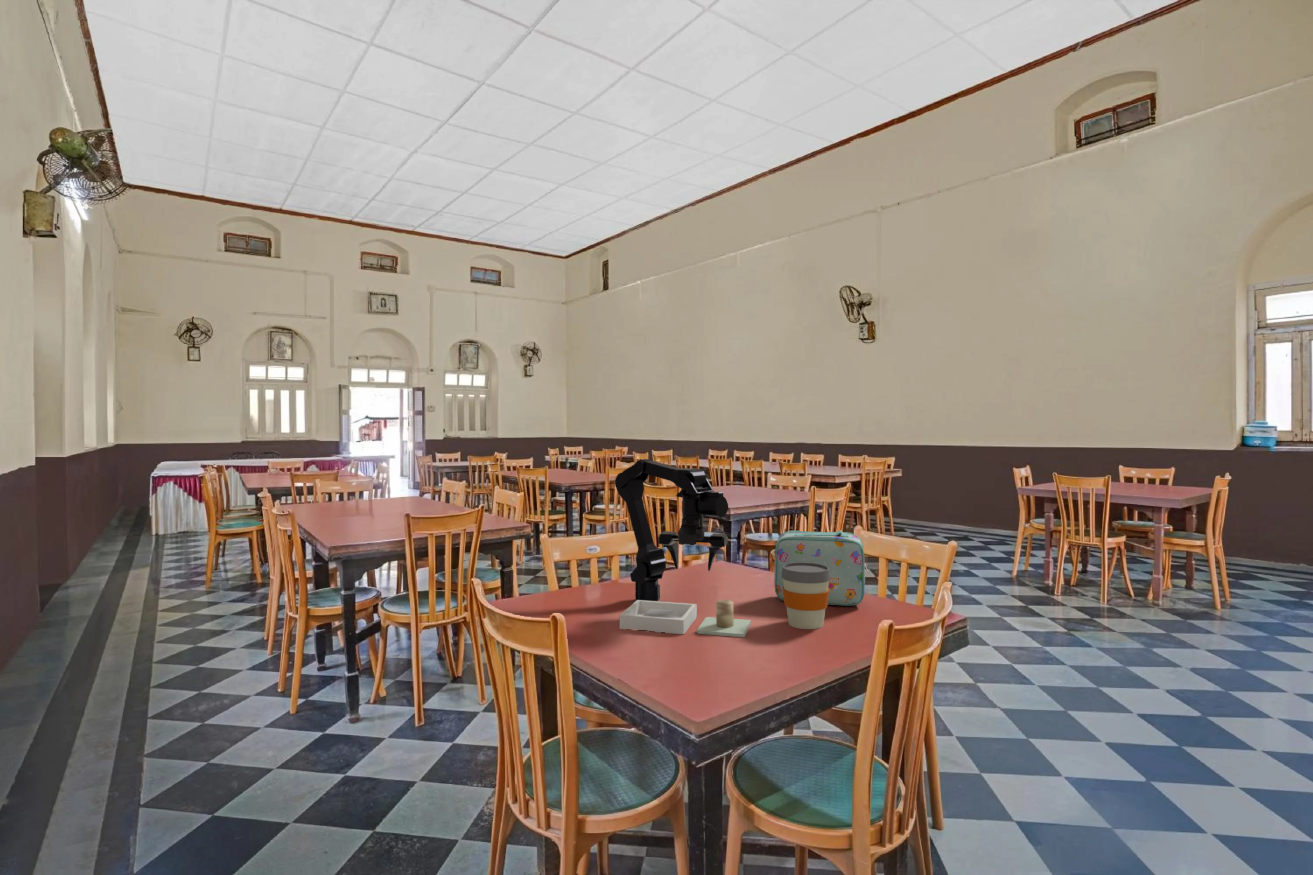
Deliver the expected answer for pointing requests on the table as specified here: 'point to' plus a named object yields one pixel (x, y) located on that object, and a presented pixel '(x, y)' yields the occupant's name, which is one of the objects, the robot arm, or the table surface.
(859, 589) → the lunch box
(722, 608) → the birch cylinder
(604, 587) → the table surface
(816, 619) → the reusable coffee cup
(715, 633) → the green pad
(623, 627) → the tray
